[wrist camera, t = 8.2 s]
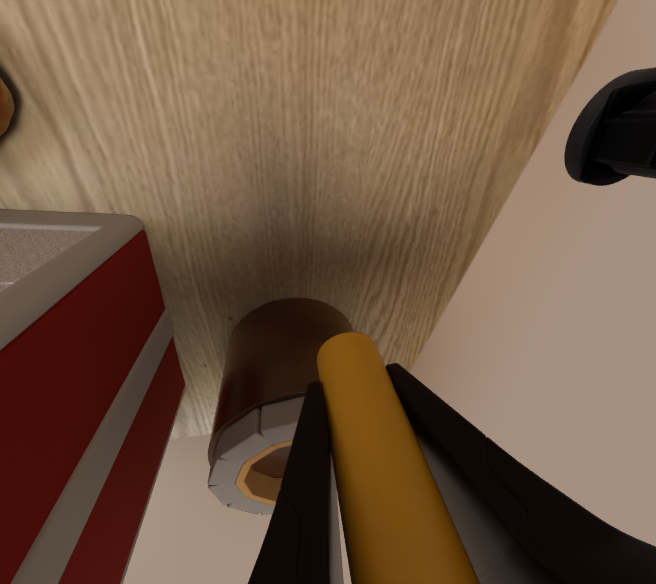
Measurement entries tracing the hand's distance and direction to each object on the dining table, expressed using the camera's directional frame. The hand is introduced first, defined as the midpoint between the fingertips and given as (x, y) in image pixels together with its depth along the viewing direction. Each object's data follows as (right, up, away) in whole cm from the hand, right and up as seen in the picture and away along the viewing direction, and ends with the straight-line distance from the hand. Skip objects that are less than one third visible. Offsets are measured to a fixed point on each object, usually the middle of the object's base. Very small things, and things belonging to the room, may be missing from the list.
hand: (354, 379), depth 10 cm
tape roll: (-3, -8, +9) cm, 12 cm away
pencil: (0, +1, +1) cm, 1 cm away
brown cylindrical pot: (-4, -3, +17) cm, 17 cm away
